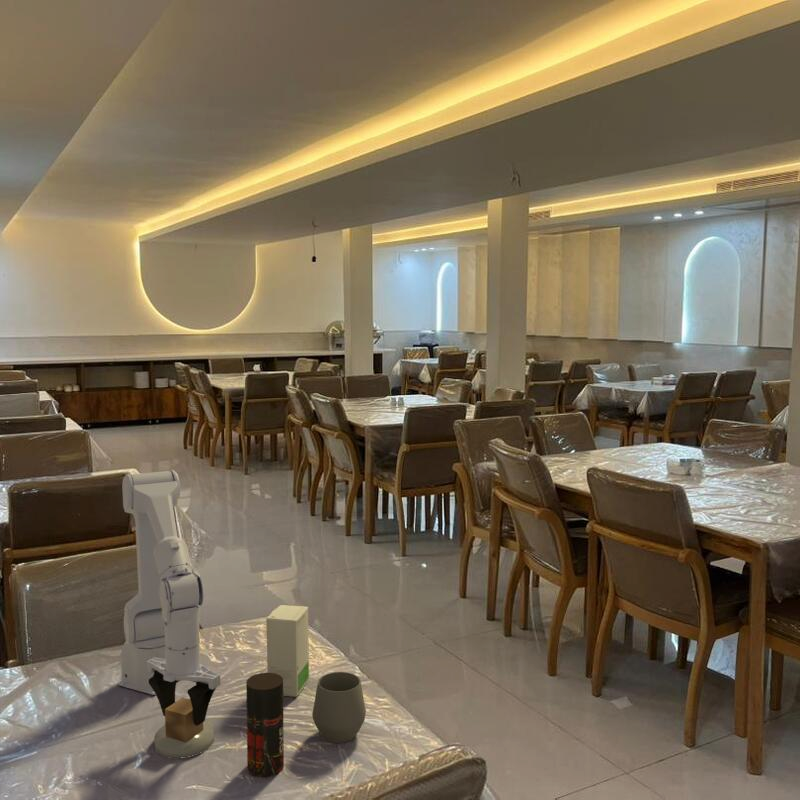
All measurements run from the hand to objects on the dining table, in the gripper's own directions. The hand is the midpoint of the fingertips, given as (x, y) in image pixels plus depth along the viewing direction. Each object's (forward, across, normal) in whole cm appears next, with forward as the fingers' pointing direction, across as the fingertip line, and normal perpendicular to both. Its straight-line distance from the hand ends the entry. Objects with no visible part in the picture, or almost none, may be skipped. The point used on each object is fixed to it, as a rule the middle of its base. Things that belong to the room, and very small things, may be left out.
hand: (184, 718), depth 137 cm
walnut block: (+3, 0, 0) cm, 3 cm away
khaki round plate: (+5, 0, 0) cm, 5 cm away
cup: (+5, +23, +14) cm, 27 cm away
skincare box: (+5, +5, +25) cm, 26 cm away
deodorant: (+5, +17, 0) cm, 18 cm away
